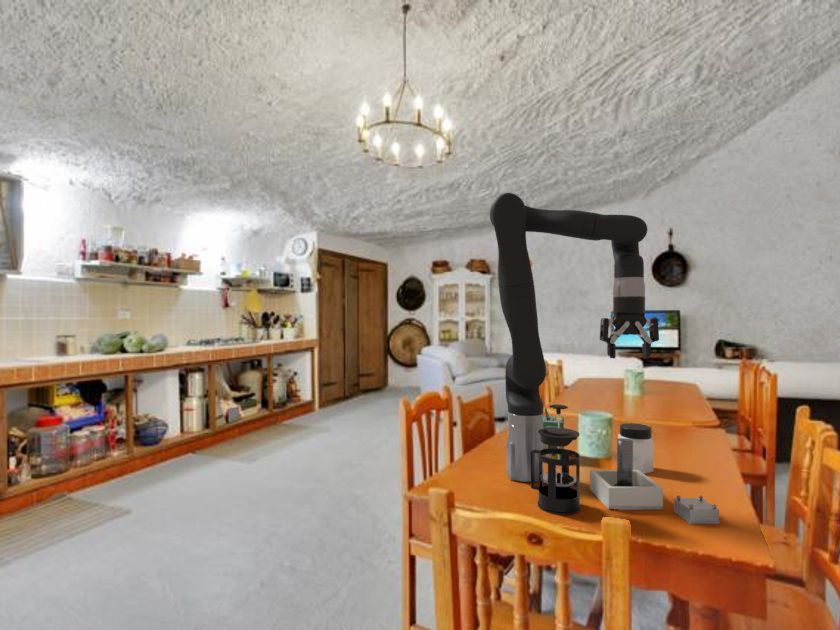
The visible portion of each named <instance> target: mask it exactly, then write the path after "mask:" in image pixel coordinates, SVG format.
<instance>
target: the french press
mask: <svg viewBox="0 0 840 630" xmlns="http://www.w3.org/2000/svg"><path fill="white" fill-rule="evenodd" d="M548 407H549V408H550V409H555V410H556V415H557V417H558V428H543V429H540V430H539V431H538V433H539V434H540V441H541V442H542V443H544V444H547V445H551V446H558V448H546V449H542V450H535V449H534V450H532V451H531V482H530V488H531V490H535V491H538V500H537V506H538V508H539V509H540V510H542V511H544V512H545V513H549V514H552V515H557V516H558V515H559V516H572V515H577V514H579V512H580V511H581V510H582V506H581V504H580V502H581V497H580V496H581V495H580V493H581V492H580V487H581V485H580V477H581V476H580V473H581V472H580V466H581V465H580V459H581V458H580V453H578V452H577V451H574V450H571V449H567V448H565V447H567V446H569V445H570V444H571V443H572V442H573V441H576V440H577V438H579V437H580V432H579V431H577V430H574V429H571V428H566V427H564V428H559V417H560V415H561V412H562V410H566V409H569V406H568V405H565V404H559V403H558V404H555V403H554V404H550V405H548ZM559 447H564V449H561V448H559ZM535 453H538V458H539V481H538V485H536V482H535ZM545 454H558V459H552V458H547V457H544V456H542V455H545ZM560 454H562V460H560ZM570 457H572V458H571V459H570ZM542 462H543V464H547V472H543V474H542ZM570 466H575V468H576V469H575V471H576V472H575V476H574V475H573V474H570ZM556 467H557V468H556ZM560 468H561V471H560ZM556 469H557V470H556ZM543 484H544V485H543ZM573 487H576V489H575V488H573Z"/></svg>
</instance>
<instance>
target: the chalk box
mask: <svg viewBox="0 0 840 630" xmlns="http://www.w3.org/2000/svg"><path fill="white" fill-rule="evenodd" d="M544 413H545V415H543V428H558V416H552V415H550V414H549V412H548V409H547V407H546V406H544ZM559 428H565V418H564V416H563V417H562V416H559ZM546 448H558V446H551V445H547V444H544V443H543V449H546ZM559 448H561V449H565V446H564V447H559ZM543 456H544V457H547V458H552V459H558V454H545V455H543ZM560 460H562V454H560Z"/></svg>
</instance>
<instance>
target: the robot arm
mask: <svg viewBox="0 0 840 630" xmlns="http://www.w3.org/2000/svg"><path fill="white" fill-rule="evenodd" d="M489 220H490V223H491V225H492V226H493V228H494V232H495V237H496V238H495V239H496V243H497V249H498V250H497V251H498V256H497V258H498V259H497V260H498V261H497V278H498V279H497V280H498V281H497V282H498V292H499V293H498V294H499V299H500V306H501V309H502V314H503V317H504V320H505V322H506V325H507V327H508V328H507V329H508V331H509V335H510V340H511V345H512V346H511V348H512V349H511V350H512V355H510V357H509V358H508V359H507V362H506V363H505V365H506V366H505V372H504V373H505V375H504V376H505V377H504V378H505V379H504V380H505V399H506V404H507V438H506V474H507V476H508V478H509V480H511V481H518V482H523V483H531V451H532V450H534V449H535V450H542V449H543V443H542V442H541V441H540V434H539V433H538V431H539V430H540V429H543V416H544V403H543V401H542V399H541V395H540V387H541V386H542V384H543V383H544V381H545V379H546V376H547V367H546V360H545V356H544V353H543V349H542V344H541V343H542V342H541V340H540V332H539V322H538V321H539V320H538V310H537V309H538V308H537V299H536V290H535V281H534V276H533V269H532V264H531V260H530V255H529V250H528V244H527V233H529V232H530V233H531V232H532V233H542V234H550V235H555V236H563V237H568V238H573V239H582V240H586V241H587V240H588V241H593V242H594V241H595V242H596V241H602V240H605V241H611V249H612V250H611V251H612V255H613V261H614V264H613V271H614V275H613V277H614V279H613V288H612V301H613V304H612V307H613V308H612V311H613V316H612V318H608V317H602V318H601V319H600V328H599V340H600V341H601V342H605V343H606V344H607V348H606V349H607V353H606V354H607V356H608V357H609V358H610V359H616V358H617V357H616V352H617V351H616V341H617V340H618V339H619V338H620V337H621V336H622V335H623V336H628V335H633V336H637V337H638V338H640V340H641V341H642V342H643V343H642V344H641V346H642V347H641V348H642V349H641V350H642V353H641V357H642V358H643V359H649V358H650V357H651V355H652V343H655V342H658V341H660V334H659V333H660V331H659V319H658V318H657V317H649V318H646V316H645V315H646V284H645V278H644V277H645V266H644V263H645V262H644V258H643V257H642V256H641V255H640V246H639V243H640V242H642V241H643V239H644V238H646V236H647V233H648V225H647V223H646V222H645V220H644V219H642V218H641V217H639V216H635V215H630V214H602V213H597V212H590V211H584V210H576V209H575V210H574V209H573V210H572V209H561V210H560V209H543V208H536V207H531V206H528V205H525V203H524V201H523V200H522V198H521V197H520V196H518V195H517V194H515V193H512V192H503V193H501V194H500V195H498V196H497V197H496V198H495V199H494V200H493V202H492V204H491V206H490V209H489ZM526 232H527V233H526ZM611 325H612V326H614V329H613V330H612V331H611V333H610V335H609V330H610V329H609V328H610V327H611ZM645 325H647V327H648V329H649V334H648V332H647V331H646V330H645V328H644V327H645ZM542 456H543V455H542ZM544 471H545V470H544V462H542V474H543V473H545V472H544ZM537 482H539V458H538V453H535V483H537Z"/></svg>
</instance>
